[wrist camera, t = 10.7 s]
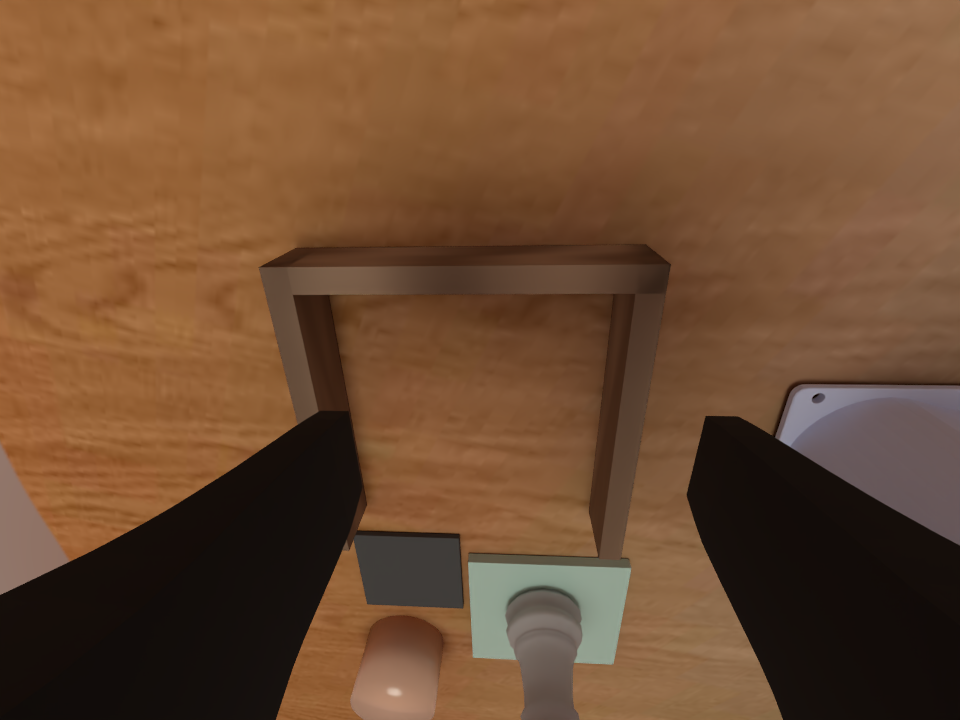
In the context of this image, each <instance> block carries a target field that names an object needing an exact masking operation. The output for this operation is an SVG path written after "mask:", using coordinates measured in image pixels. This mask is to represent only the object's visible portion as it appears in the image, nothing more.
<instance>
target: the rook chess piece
mask: <svg viewBox="0 0 960 720" xmlns="http://www.w3.org/2000/svg"><path fill="white" fill-rule="evenodd" d="M505 618H506V621H507V625H508V626H507V629H506V633H507V636H508V640H509V643H510V646H511V647H512V648H513V649H514V654H515V657H516V659H517V660H518V661H519V663H520V667H521V674H522V681H523V688H524V702H525V708H524V710H523V712H522V714H521V719H522V720H579V715H578V713H577V712H576V710H575V709H574V705H573V664H574V661H575V659H576V657H577V655H578V654H577V650H578V648H579V646H580V644H581V642H582V636H583V634H582V628H581V625H580V622H581V620H582V618H581V613H580V609H579V608H578V607H577V606H576V605H575V604H574V603H573V601H572V600H571V599H570V598H569V597H568V596H566V595H564V594H562V593H560V592H558V591H555V590H549V589H534V590H529V591H527V592H524V593H522V594H520V595H519V596H518V597H517V598H515V599H514V600H513V601H512V603H511V604H510V605H509V606H508V608H507V611H506V614H505Z"/></svg>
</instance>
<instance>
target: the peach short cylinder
mask: <svg viewBox="0 0 960 720" xmlns="http://www.w3.org/2000/svg"><path fill="white" fill-rule="evenodd" d="M443 644H444V641H443V637H442V635H441V633H440V632H439V631H438V630H437V629H436V628H435V627H434V626H433V625H431V624H430V623H428V622H426V621H424V620H421V619H419V618H415V617H410V616H390V617H386V618H383V619H381V620H379V621H377V622H376V623H375V624H374V625H373V626H372V627H371V629H370V632H369V636H368V639H367V643H366V646H365V650H364V653H363V657H362V660H361V664H360V668H359V671H358V675H357V678H356V682H355V685H354V689H353V692H352V696H351V701H350V702H351V706H352V709H353V710H354V711H355V713H356V714H357V715H358V716H360V717H361V718H362V719H364V720H431V719H432V718H433V716H434V713H435V706H436V698H437V690H438V683H439V675H440V667H441V660H442V652H443Z"/></svg>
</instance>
